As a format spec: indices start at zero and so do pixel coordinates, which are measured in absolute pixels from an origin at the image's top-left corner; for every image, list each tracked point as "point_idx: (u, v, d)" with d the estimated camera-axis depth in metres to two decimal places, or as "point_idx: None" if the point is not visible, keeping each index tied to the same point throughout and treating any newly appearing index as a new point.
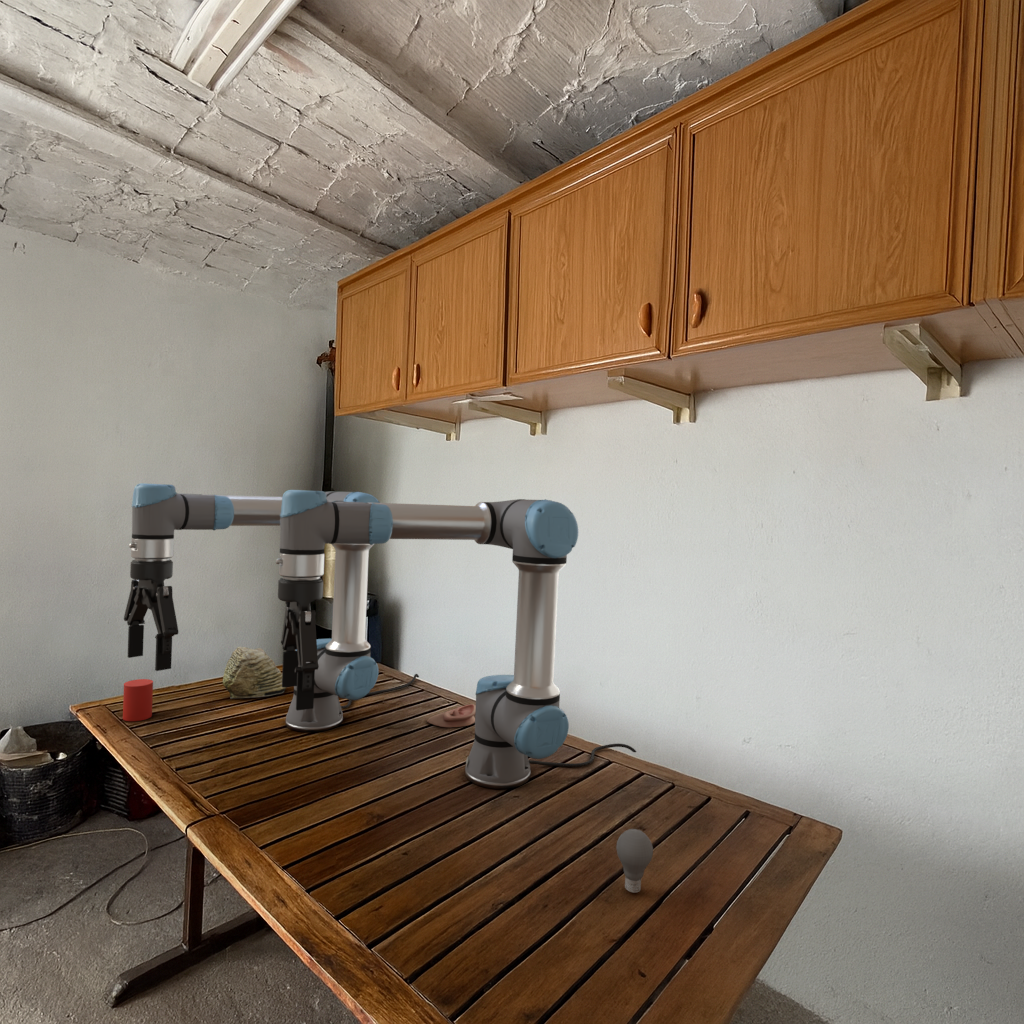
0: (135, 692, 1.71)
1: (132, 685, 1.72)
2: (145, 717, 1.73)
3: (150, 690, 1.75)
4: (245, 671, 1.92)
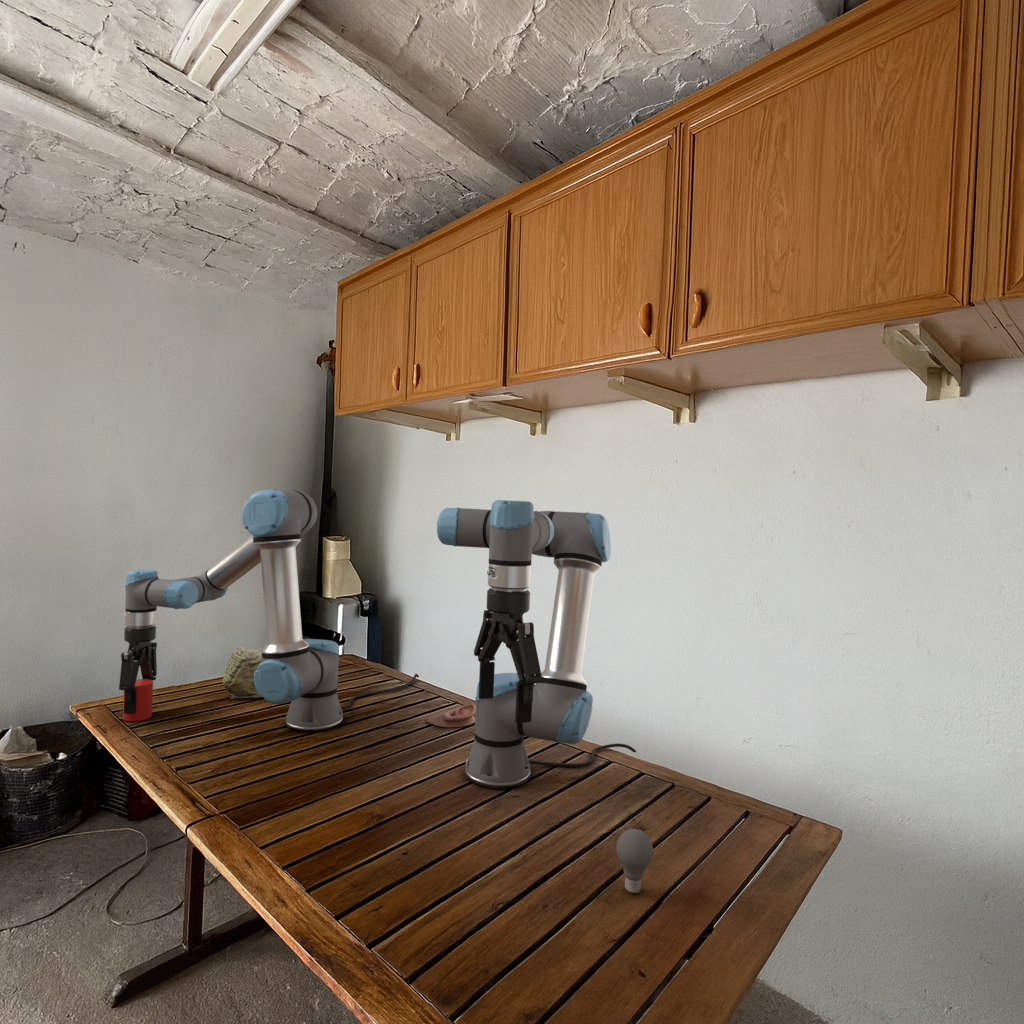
0: None
1: None
2: (145, 717, 1.73)
3: (150, 690, 1.75)
4: (245, 671, 1.92)
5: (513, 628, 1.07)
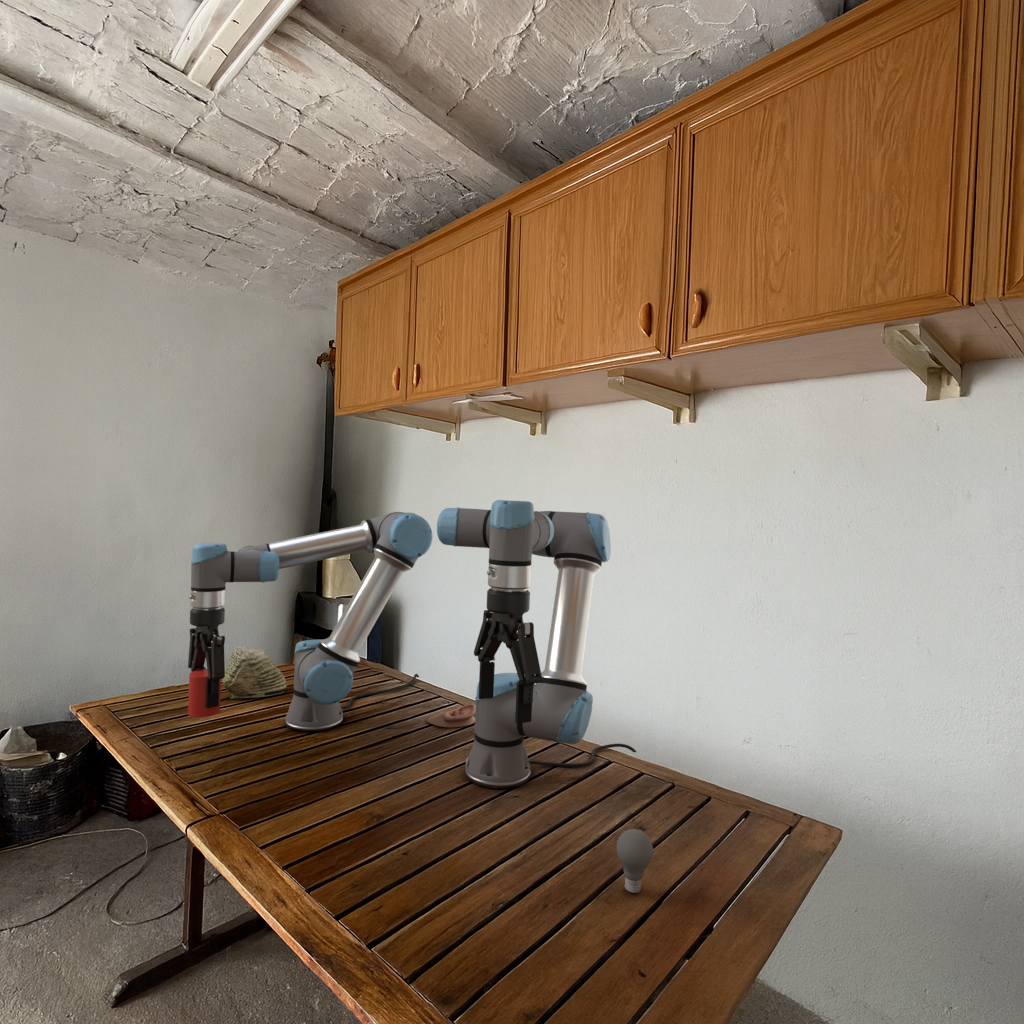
0: None
1: None
2: None
3: None
4: (245, 671, 1.92)
5: (513, 628, 1.07)
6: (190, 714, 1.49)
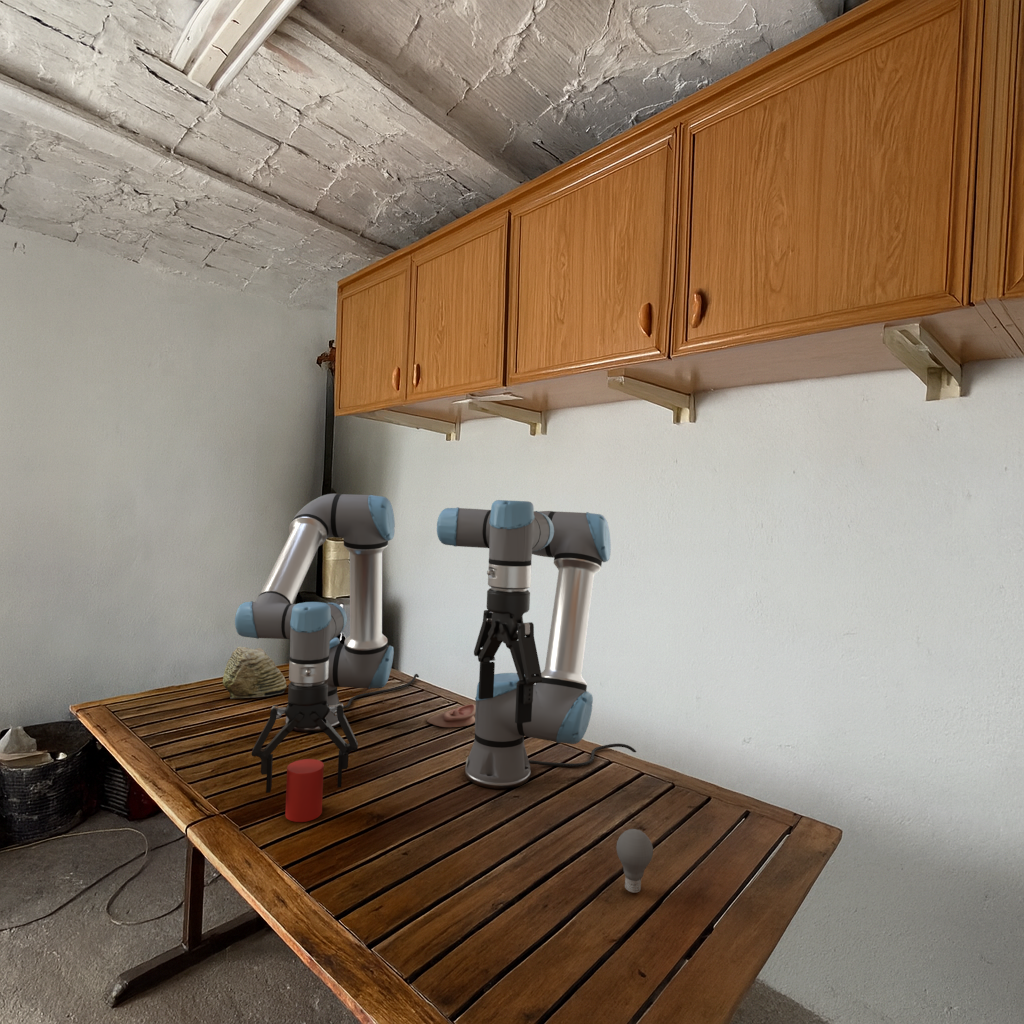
0: None
1: (319, 765, 1.27)
2: None
3: None
4: (245, 671, 1.92)
5: (513, 628, 1.07)
6: (305, 819, 1.23)
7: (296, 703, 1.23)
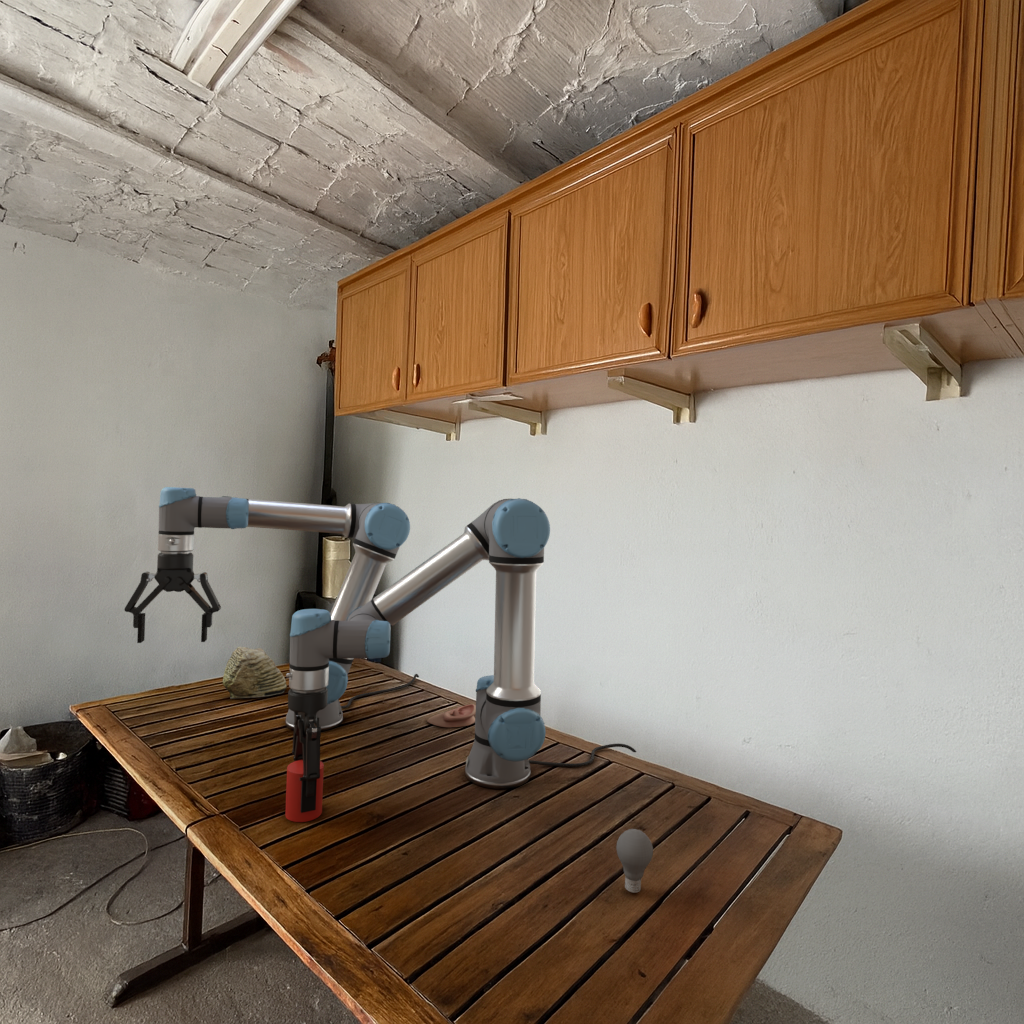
0: None
1: None
2: None
3: None
4: (245, 671, 1.92)
5: (306, 726, 1.23)
6: (305, 819, 1.23)
7: (162, 567, 1.47)
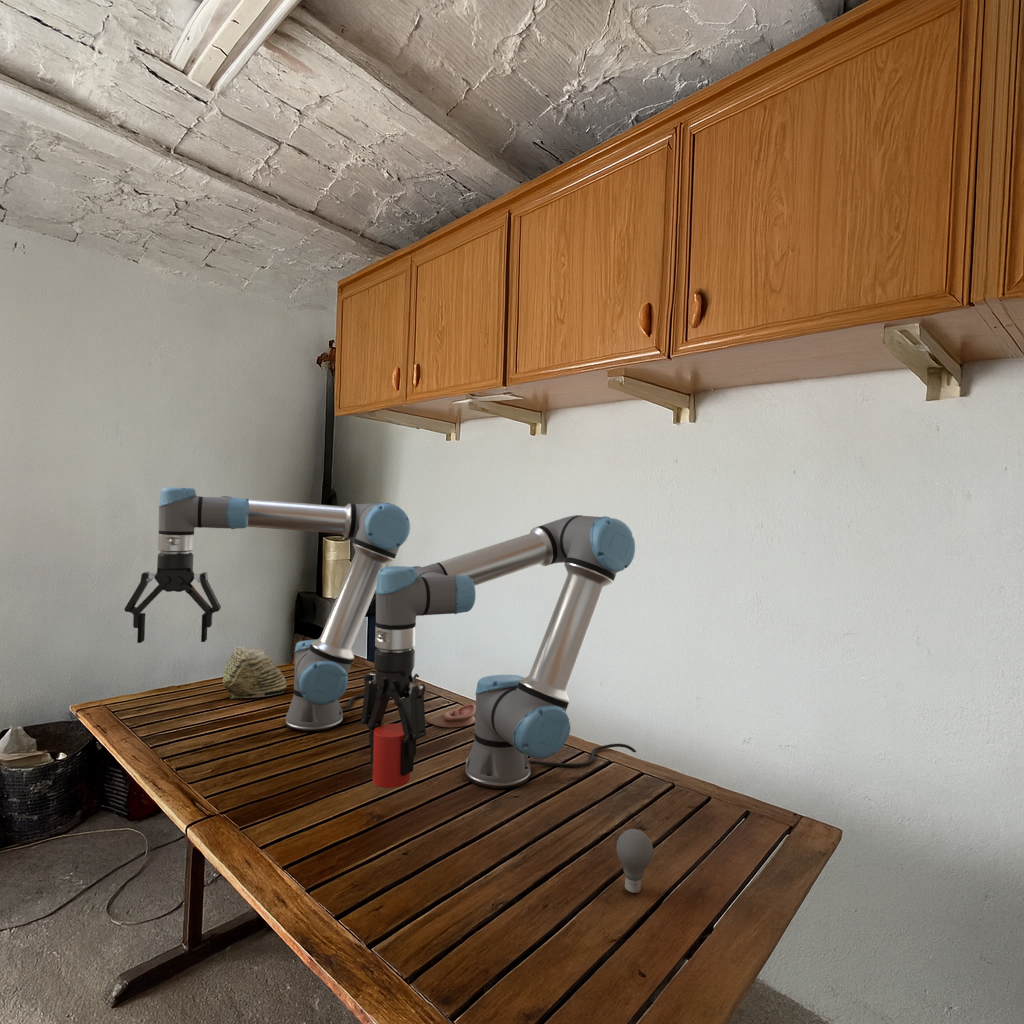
0: None
1: None
2: None
3: None
4: (245, 671, 1.92)
5: (405, 686, 1.18)
6: (403, 782, 1.19)
7: (162, 567, 1.47)
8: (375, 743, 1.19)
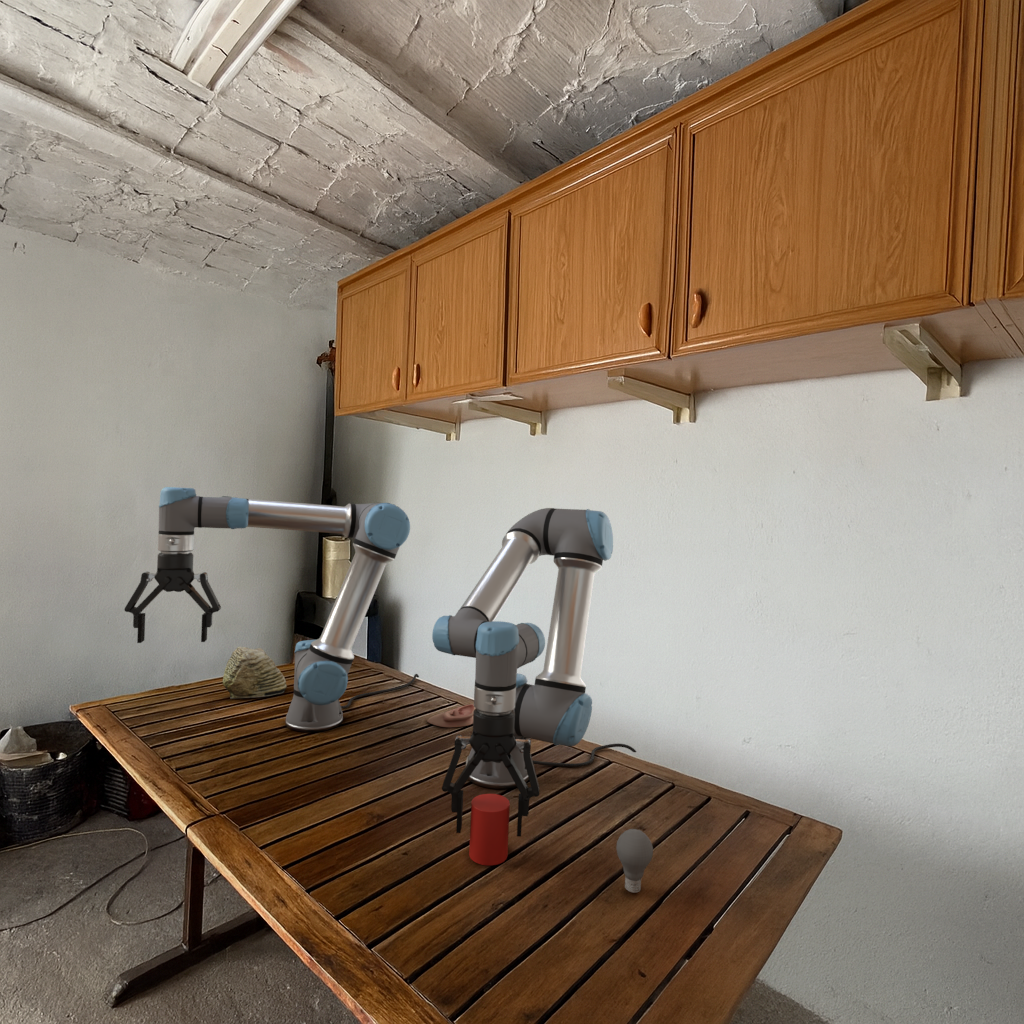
0: None
1: (496, 796, 1.17)
2: None
3: None
4: (245, 671, 1.92)
5: (513, 747, 1.13)
6: (507, 854, 1.14)
7: (162, 567, 1.47)
8: (482, 821, 1.11)
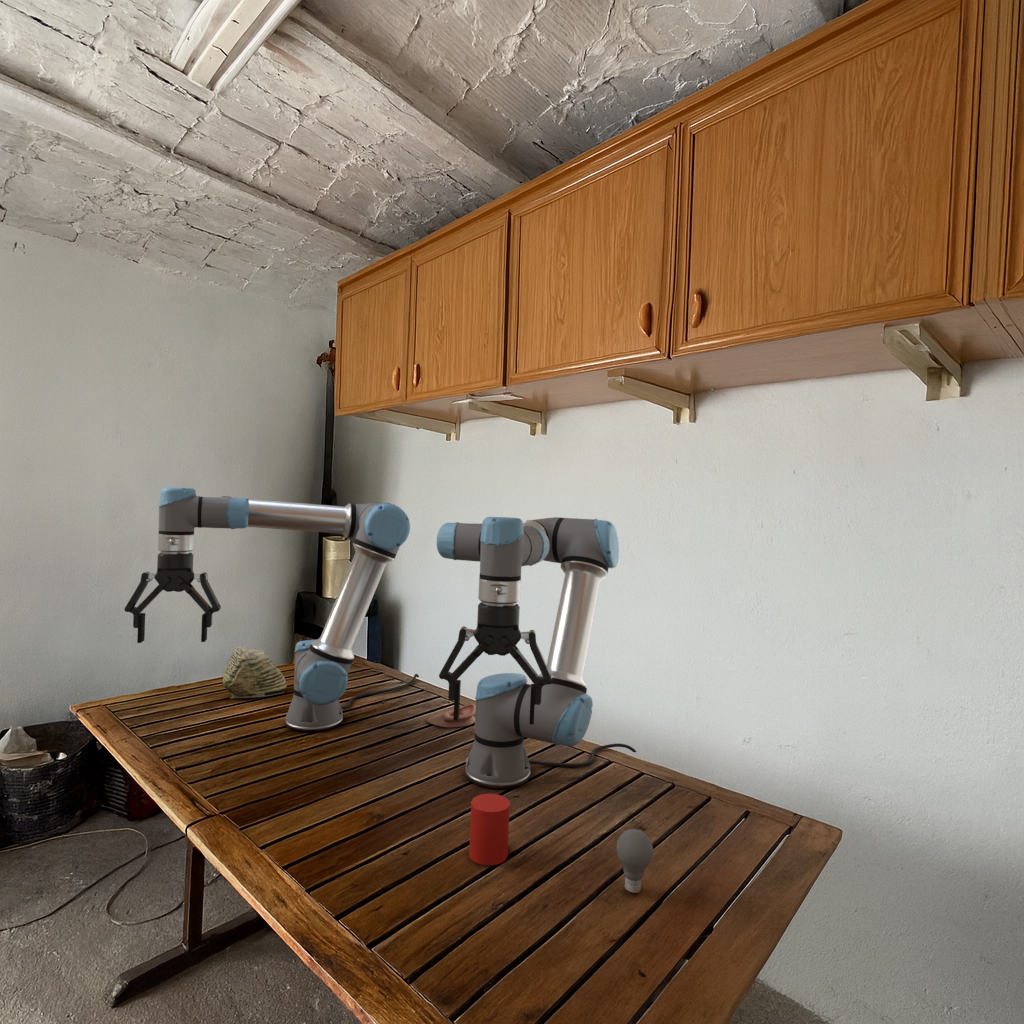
0: None
1: (496, 796, 1.17)
2: None
3: None
4: (245, 671, 1.92)
5: (518, 639, 1.13)
6: (507, 854, 1.14)
7: (162, 567, 1.47)
8: (482, 821, 1.11)
